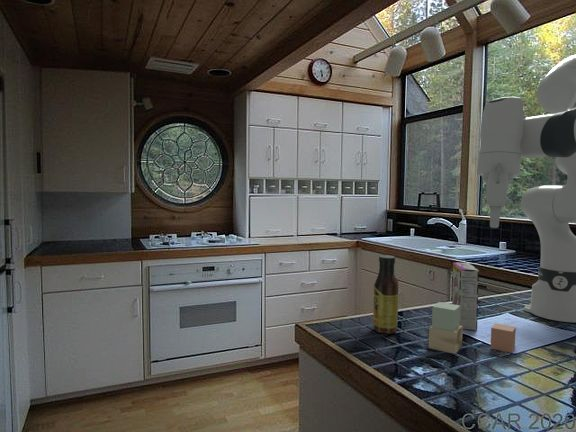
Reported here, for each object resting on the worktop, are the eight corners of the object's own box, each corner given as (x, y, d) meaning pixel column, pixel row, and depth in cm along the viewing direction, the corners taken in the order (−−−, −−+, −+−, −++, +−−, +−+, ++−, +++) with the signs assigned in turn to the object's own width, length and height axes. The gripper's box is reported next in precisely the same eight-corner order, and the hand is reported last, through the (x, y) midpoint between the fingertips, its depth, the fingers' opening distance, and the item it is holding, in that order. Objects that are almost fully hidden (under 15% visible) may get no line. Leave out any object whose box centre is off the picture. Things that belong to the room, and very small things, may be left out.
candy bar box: (450, 317, 124) (452, 262, 123) (468, 318, 123) (470, 262, 122) (457, 329, 114) (459, 268, 113) (477, 331, 113) (480, 269, 112)
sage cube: (438, 322, 104) (438, 302, 104) (459, 326, 101) (460, 305, 101) (431, 327, 100) (432, 306, 100) (454, 331, 97) (454, 310, 97)
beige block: (436, 341, 105) (437, 321, 105) (462, 346, 102) (462, 326, 101) (428, 348, 100) (429, 327, 100) (455, 354, 97) (456, 332, 96)
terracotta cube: (494, 343, 104) (495, 323, 104) (514, 347, 101) (515, 326, 101) (490, 348, 100) (491, 327, 100) (511, 353, 98) (512, 331, 98)
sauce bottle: (374, 325, 116) (376, 253, 115) (398, 328, 114) (400, 254, 113) (371, 333, 110) (373, 257, 109) (396, 336, 108) (398, 258, 107)
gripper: (516, 161, 87) (511, 229, 87) (512, 173, 105) (507, 228, 106) (482, 161, 90) (477, 226, 90) (484, 172, 108) (479, 226, 108)
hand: (493, 227), depth 98 cm, fingers open, 8 cm apart
